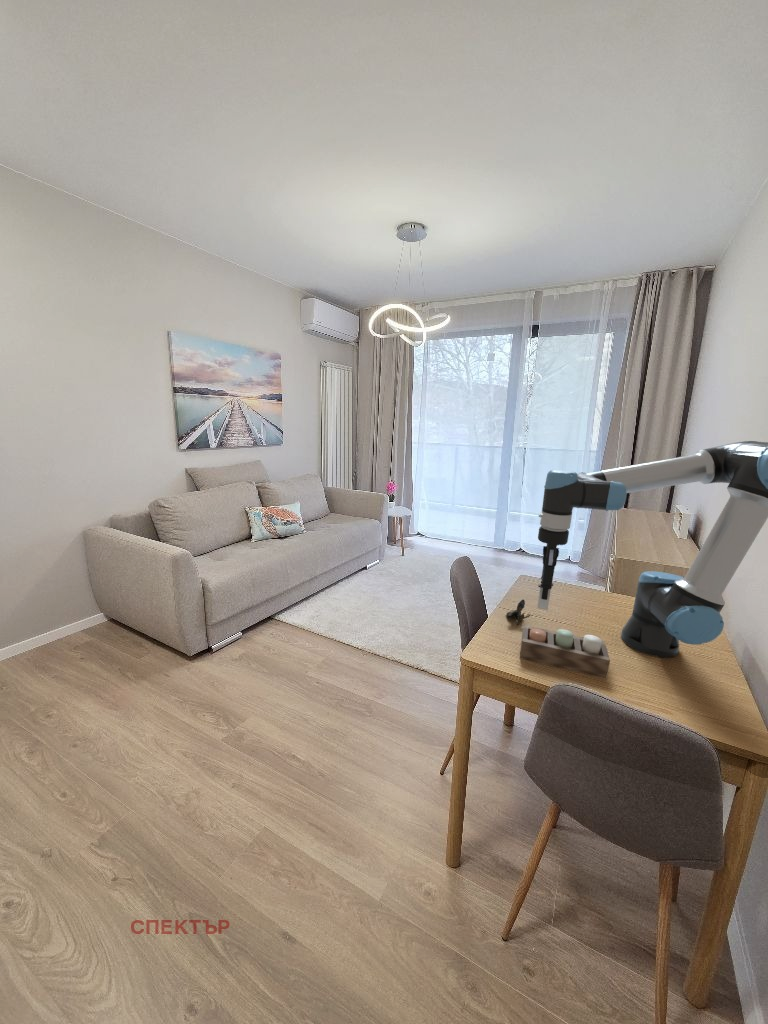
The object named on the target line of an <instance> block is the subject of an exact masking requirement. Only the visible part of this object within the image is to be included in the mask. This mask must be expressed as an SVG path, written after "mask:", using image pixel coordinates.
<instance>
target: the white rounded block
mask: <svg viewBox="0 0 768 1024" xmlns="http://www.w3.org/2000/svg"><path fill="white" fill-rule="evenodd" d="M583 637H584V640H583V645H582V651H583V652H587V653H592V654H596V655H599V653H600V648H601V643H602V641H603V640H602V639H601V638H600V637H599V636H596V635H593V634H585V635H583Z"/></svg>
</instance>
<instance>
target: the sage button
mask: <svg viewBox="0 0 768 1024" xmlns="http://www.w3.org/2000/svg"><path fill="white" fill-rule="evenodd" d="M556 632H557V634H556V640H555V646H560V647H565V648H569V649H572V643H573V637H574V636H575V634H574V633H573V632H572V631H571V630H568V629H562V628H559V629H557V630H556Z"/></svg>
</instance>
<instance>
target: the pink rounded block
mask: <svg viewBox="0 0 768 1024" xmlns="http://www.w3.org/2000/svg"><path fill="white" fill-rule="evenodd" d="M541 629H542V628H541ZM541 629H531V630H530V635H529V640H533V641H537V642H542V643H545V639H546V632H544V631H543V630H541Z"/></svg>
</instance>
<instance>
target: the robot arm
mask: <svg viewBox="0 0 768 1024" xmlns="http://www.w3.org/2000/svg"><path fill="white" fill-rule="evenodd" d="M698 482H699V483H701V484H703V485H708V484H715V483H716V484H717V483H719V484H720V483H723V484H728V485H727V487H726V489H727V492H728V494H729V498H728V500H727V502H726V503H725V505H724V507H723V508H722V511H721V513H720V515H719V516H718V517H717V519H716V522H715V523H714V525H713V527H712V528H711V530H710V532H709V534H708V535H707V537H706V539H705V540H704V543H703V544H702V546H701V547H700V550H699V551H698V553H697V555H696V556H695V558H694V560H693V562H692V564H691V565H690V567H689V570H688V571H687V573H686V574H685V576H684V577H683V576H681V575H677V574H673V573H669V572H664V571H663V572H662V571H654V570H653V571H652V570H650V571H649V570H648V571H643V572H642V573H641V574H640V576H639V579H638V582H637V588H636V592H635V597H634V603H633V608H632V612H631V613H632V614H631V615H630V617H629V619H628V620H627V621H626V623H625V624H624V626H623V627H622V629H621V634H620V638H621V640H622V642H624V644H626V645H627V646H629V647H630V648H632V649H633V650H636V651H638V652H641V653H642V654H646V655H649V656H654V657H658V658H673V657H676V656H677V655H678V654H679V650H680V642H681V643H684V644H687V645H693V646H695V645H696V646H698V645H699V646H700V645H702V644H707V643H710V642H712V641H714V640H716V639H717V638H718V637H719V636H720V635H721V633H722V632H723V630H724V627H725V622H724V621H723V616H722V615H721V612H722V610H723V608H724V606H725V604H726V602H725V599H724V597H723V593H724V592H725V590H726V589H727V587H728V585H729V583H730V581H732V578H733V577H734V575H735V574H736V572H737V570H738V568H739V567H740V565H741V563H742V561H743V560H744V558H745V556H747V553H748V552H749V550H750V549H751V546H752V545H753V543H754V542H755V540H756V538H757V537H758V534H759V533H760V532H761V530H762V528H763V527H764V525H765V523H766V521H767V519H768V442H765V441H757V440H756V441H754V440H753V441H752V440H748V441H747V440H746V441H745V440H744V441H738V442H733V443H728V444H723V445H718V446H715V447H709V448H704V449H699V450H697V451H696V452H695V453H694V454H690V455H685V456H678V457H673V458H668V459H662V460H655V461H651V462H645V463H639V464H632V465H629V466H623V467H616V468H610V469H605V470H604V469H603V470H600V471H593V472H589V473H587V472H576V471H574V470H566V469H565V470H564V469H552V470H550V471H547V475H546V478H545V482H544V483H545V484H544V491H543V492H544V493H543V497H542V498H543V499H542V507H541V513H539V514H538V518H540V522H539V525H541V526H539V529H538V534H537V539H538V541H539V542H541V543H543V544H546V545H543V548H542V571H541V572H542V573H541V577H540V583H539V584H538V586H537V587H538V588H539V595H538V600H537V609H538V610H544V611H548V609H549V603H550V597H551V590H552V588H553V587H554V583H553V579H554V574H555V568H556V566H557V561H558V558H559V556H560V555H559V554H560V550H559V549H560V548H559V547H557V546H563V545H564V546H565V545H566V544H568V541H569V535H570V531H569V530H570V529H571V523H572V516H573V509H590V510H601V511H606V512H607V511H619V510H621V509H622V508H623V507H624V506H625V503H626V501H627V494H630V493H636V492H642V491H649V490H653V489H654V490H655V489H659V488H660V489H661V488H666V487H667V488H668V487H673V486H679V485H685V484H692V483H698Z"/></svg>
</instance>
